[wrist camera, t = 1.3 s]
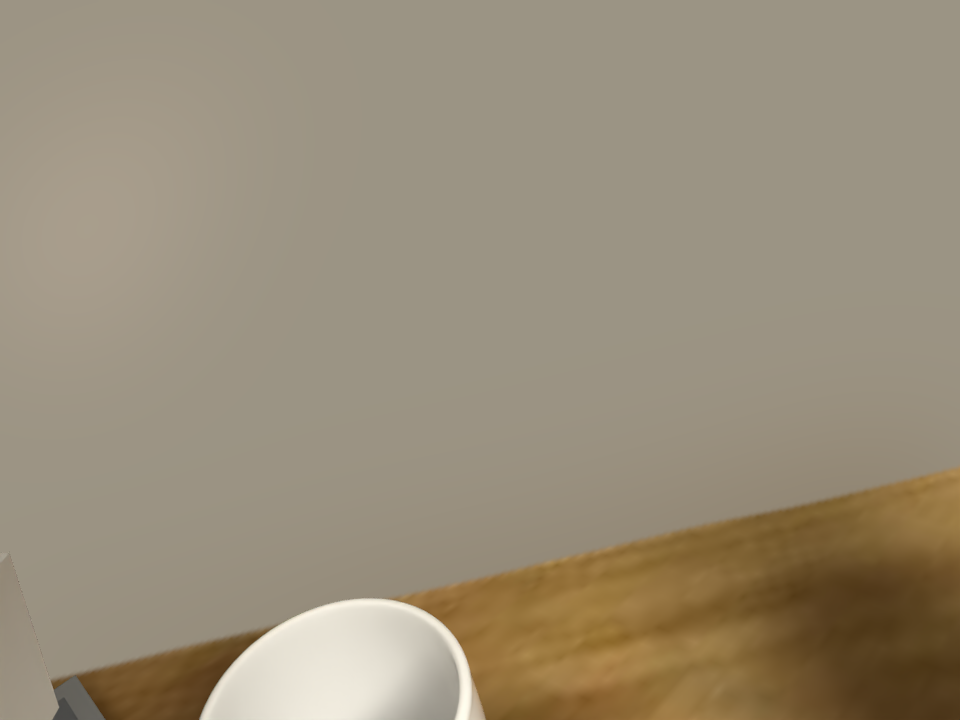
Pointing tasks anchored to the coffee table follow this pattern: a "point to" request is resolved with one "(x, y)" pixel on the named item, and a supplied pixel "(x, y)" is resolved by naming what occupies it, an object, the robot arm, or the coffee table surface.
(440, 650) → the white cup
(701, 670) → the coffee table surface
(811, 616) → the coffee table surface
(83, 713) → the tray
